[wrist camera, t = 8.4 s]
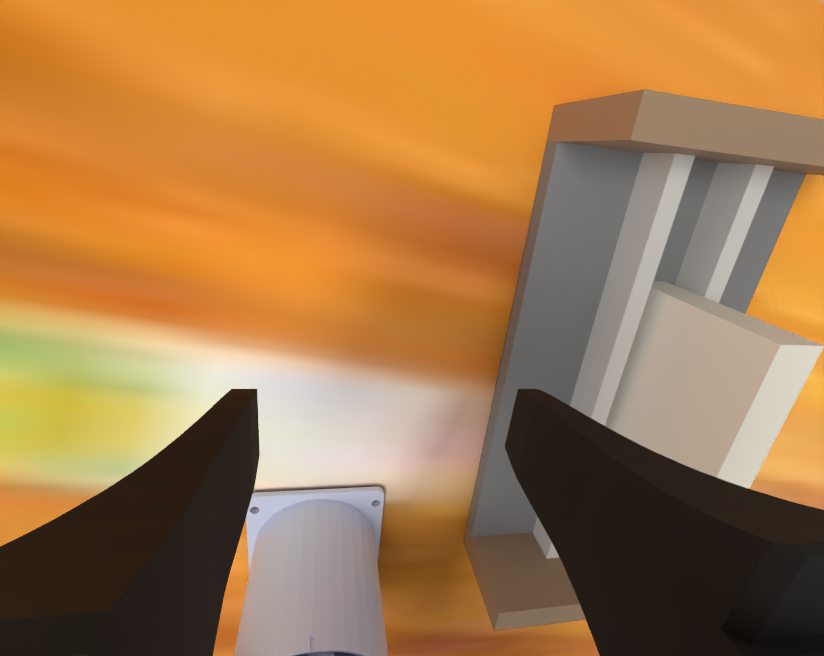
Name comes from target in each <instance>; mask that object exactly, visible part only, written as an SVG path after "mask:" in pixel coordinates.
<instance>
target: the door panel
mask: <svg viewBox="0 0 824 656" xmlns="http://www.w3.org/2000/svg"><path fill="white" fill-rule="evenodd" d="M823 348H824V346H823V345H821V344H818V343H816V342H813V341H811V340H808V339H806V338H803V337H801V336H799V335H796V334H794V333H791V332H789V331H786V330H784V329H781V328H779V327H776V326H774V325H771V324H769V323H766V322H764V321H761V320H759V319H757V318H754V317H752V316H749V315H747V314H744V313H742V312H739V311H737V310H734V309H732V308H729V307H727V306H724V305H722V304H719V303H717V302H715V301H712V300H710V299H707V298H705V297H702V296H700V295H697V294H695V293H692V292H690V291H687V290H685V289H682V288H680V287H678V286H675V285H673V284H670V283H668V282H659V281H653V284H652V287H651V289H650V292H649V295H648V298H647V301H646V304H645V307H644V310H643V313H642V316H641V319H640V322H639V325H638V328H637V331H636V334H635V337H634V340H633V343H632V346H631V349H630V352H629V355H628V358H627V361H626V364H625V367H624V370H623V373H622V376H621V379H620V382H619V385H618V388H617V391H616V394H615V397H614V400H613V403H612V406H611V409H610V412H609V415H608V418H607V421H606V424H605V426H606V427H608V428H609V429H611V430H613V431H615V432H617V433H618V434H620V435H622V436H624V437H626V438H628V439H630V440H632V441H634V442H636V443H638V444H640V445H642V446H644V447H646V448H648V449H650V450H652V451H654V452H656V453H658V454H661V455H663V456H665V457H667V458H670V459H672V460H674V461H676V462H679V463H681V464H683V465H686V466H688V467H691V468H693V469H695V470H698V471H700V472H703V473H706V474H709V475H711V476H714V477H717V478H719V479H722V480H725V481H727V482H730V483H733V484H736V485H739V486H742V487H745V488H748V489H749V488H750V486H751V484H752V482H753V480H754V478H755V477H756V475H757V473H758V471H759V469H760V467H761V465H762V463H763V461H764V460H765V458H766V456H767V454H768V452H769V450H770V448H771V446H772V444H773V442H774V441H775V439H776V437H777V435H778V433H779V431H780V429H781V427H782V425H783V423H784V422H785V420H786V418H787V416H788V414H789V412H790V410H791V408H792V406H793V405H794V403H795V401H796V399H797V397H798V395H799V393H800V391H801V389H802V387H803V386H804V384H805V382H806V380H807V378H808V376H809V374H810V372H811V370H812V369H813V367H814V365H815V363H816V361H817V359H818V357H819V355H820V353H821V351H822V350H823Z"/></svg>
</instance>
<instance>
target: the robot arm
mask: <svg viewBox="0 0 824 656" xmlns="http://www.w3.org/2000/svg"><path fill="white" fill-rule="evenodd" d="M505 449H506V452H507V455H508V457H509V460H510V463H511V466H512V468H513V471H514V473H515V476H516V478H517V480H518V482H519V484H520V486H521V487H522V489H523V491H524V493H525V495H526V497H527V498H528V500H529V502H530V504H531V506H532V508H533V509H534V511H535V513H536V515H537V517H538V518H539V520H540V522H541V524H542V526H543V527H544V529H545V531H546V533H547V535H548V536H549V538H550V540H551V542H552V544H553V545H554V547H555V549H556V551H557V553H558V555H559V557H560V559H561V561H562V563H563V566H564V568H565V570H566V573H567V575H568V577H569V580H570V582H571V584H572V587H573V589H574V591H575V593H576V596H577V598H578V601H579V603H580V606H581V608H582V611H583V613H584V616H585V618H586V621H587V623H588V626H589V628H590V631H591V633H592V636H593V638H594V641H595V644H596V646H597V649H598V652H599V655H600V656H824V510H821V509H817V508H813V507H809V506H805V505H801V504H797V503H794V502H790V501H787V500H783V499H780V498H777V497H773V496H770V495H767V494H764V493H760V492H757V491H754V490H751V489H748V488H745V487H742V486H739V485H736V484H733V483H730V482H727V481H725V480H722V479H719V478H717V477H714V476H711V475H709V474H706V473H703V472H700V471H698V470H695V469H693V468H691V467H688V466H686V465H683V464H681V463H679V462H676V461H674V460H672V459H670V458H667V457H665V456H663V455H661V454H658V453H656V452H654V451H652V450H650V449H648V448H646V447H644V446H642V445H640V444H638V443H636V442H634V441H632V440H630V439H628V438H626V437H624V436H622V435H620V434H618V433H617V432H615V431H613V430H611V429H609V428H608V427H606V426H604V425H602V424H600V423H599V422H597V421H595V420H593V419H592V418H590V417H588V416H586V415H585V414H583V413H581V412H580V411H578V410H576V409H574V408H573V407H571V406H569V405H568V404H566V403H564V402H562V401H561V400H559V399H557V398H555V397H553V396H551V395H550V394H548V393H546V392H544V391H541V390H539V389H518V391H517V395H516V399H515V404H514V408H513V412H512V416H511V421H510V425H509V429H508V434H507V438H506V442H505ZM258 460H259V430H258V404H257V389H231V390H230V391H229V392H228V393H227V394H226V395H224V396H223V397H222V398H221V399H220V400H219V401H218V402H217V403H216V404H215V405H214V406H213V407H212V408H211V409H209V410H208V411H207V412H206V413H205V414H204V415H203V416H202V417H201V418H200V419H199V420H198V421H196V422H195V423H194V424H193V425H192V426H191V427H190V428H188V429H187V430H186V431H185V432H184V433H183V434H182V435H181V436H179V437H178V438H177V439H176V440H174V441H173V442H172V443H171V444H169V445H168V446H167V447H166V448H164V449H163V450H162V451H161V452H159V453H158V454H157V455H156V456H154V457H153V458H152V459H150V460H149V461H148V462H146V463H145V464H144V465H142V466H141V467H139V468H138V469H136V470H135V471H134V472H132V473H131V474H129V475H128V476H126V477H125V478H123V479H121V480H120V481H118V482H117V483H115V484H114V485H112V486H111V487H109V488H108V489H106V490H104V491H103V492H101V493H99V494H98V495H96V496H94V497H92V498H91V499H89V500H87V501H86V502H84V503H82V504H80V505H79V506H77V507H75V508H73V509H72V510H70V511H68V512H66V513H65V514H63V515H61V516H60V517H58V518H56V519H54V520H52V521H50V522H49V523H47V524H45V525H43V526H41V527H39V528H37V529H35V530H33V531H31V532H29V533H27V534H25V535H23V536H21V537H19V538H17V539H15V540H13V541H11V542H9V543H7V544H5V545H3V546H1V547H0V656H213V650H214V645H215V639H216V634H217V629H218V624H219V618H220V613H221V608H222V603H223V598H224V593H225V589H226V585H227V581H228V577H229V573H230V570H231V566H232V563H233V559H234V556H235V553H236V549H237V546H238V542H239V539H240V536H241V532H242V529H243V525H244V522H245V518H246V526H247V544H248V561H249V577H248V583H247V588H246V593H245V599H244V604H243V609H242V615H241V620H240V625H239V631H238V636H237V642H236V647H235V652H234V656H388V651H387V643H386V634H385V625H384V617H383V608H382V600H381V591H380V582H379V574H378V565H377V563H378V554H379V544H380V535H381V525H382V516H383V507H384V497H385V496H384V490H383V489H382V488H381V487H358V488H337V489H317V490H296V491H276V492H256V493H253V490H254V485H255V479H256V473H257V466H258ZM375 500H378V501H377V502H373V501H375ZM252 507H257V508H256V509H255V508H252Z"/></svg>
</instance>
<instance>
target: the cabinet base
mask: <svg viewBox="0 0 824 656" xmlns="http://www.w3.org/2000/svg"><path fill="white" fill-rule="evenodd" d="M806 174H813V175H824V120H823V119H817V118H812V117H806V116H800V115H794V114H788V113H782V112H776V111H770V110H764V109H758V108H752V107H746V106H740V105H734V104H728V103H722V102H716V101H710V100H704V99H698V98H692V97H686V96H680V95H674V94H668V93H662V92H656V91H650V90H639V91H633V92H628V93H622V94H616V95H611V96H605V97H600V98H594V99H588V100H583V101H577V102H571V103H566V104H560V105H555V106H554V111H553V115H552V120H551V125H550V130H549V135H548V139H547V144H546V149H545V154H544V159H543V163H542V168H541V173H540V178H539V182H538V187H537V192H536V197H535V202H534V206H533V211H532V216H531V221H530V225H529V230H528V235H527V240H526V245H525V249H524V254H523V259H522V264H521V269H520V273H519V278H518V283H517V288H516V292H515V297H514V302H513V307H512V312H511V316H510V321H509V326H508V331H507V335H506V340H505V345H504V350H503V355H502V359H501V364H500V369H499V374H498V379H497V383H496V388H495V393H494V398H493V402H492V407H491V412H490V417H489V422H488V426H487V431H486V436H485V441H484V445H483V450H482V455H481V460H480V465H479V469H478V474H477V479H476V484H475V489H474V493H473V498H472V503H471V508H470V512H469V517H468V522H467V527H466V532H465V536H464V544H465V547H466V550H467V553H468V556H469V559H470V562H471V564H472V567H473V570H474V573H475V576H476V579H477V582H478V585H479V588H480V591H481V594H482V597H483V600H484V603H485V606H486V609H487V612H488V614H489V617H490V620H491V623H492V626H493V629H494V631H498V630H506V629H514V628H522V627H530V626H538V625H546V624H553V623H561V622H569V621H577V620H585V619H586V618H585V616H584V613H583V611H582V608H581V606H580V603H579V601H578V598H577V596H576V593H575V591H574V589H573V587H572V584H571V582H570V580H569V577H568V575H567V573H566V570H565V568H564V566H563V563H562V561H561V559H560V557H559V555H558V553H557V551H556V549H555V547H554V545H553V544H552V542H551V540H550V538H549V536H548V535H547V533H546V531H545V529H544V527H543V526H542V524H541V522H540V520H539V518H538V517H537V515H536V513H535V511H534V509H533V508H532V506H531V504H530V502H529V500H528V498H527V497H526V495H525V493H524V491H523V489H522V487H521V486H520V484H519V482H518V480H517V478H516V476H515V473H514V471H513V468H512V466H511V463H510V460H509V457H508V455H507V452H506V449H505V442H506V438H507V434H508V429H509V425H510V421H511V416H512V412H513V408H514V404H515V399H516V395H517V391H518V389H539V390H541V391H544V392H546V393H548V394H550V395H551V396H553V397H555V398H557V399H559V400H561V401H562V402H564V403H566V404H568V405H569V406H571V407H573V408H574V409H576V410H578V411H580V412H581V413H583V414H585V415H586V416H588V417H590V418H592V419H593V420H595V421H597V422H599V423H600V424H602V425H604V426H605V424H606V421H607V418H608V415H609V412H610V409H611V406H612V403H613V400H614V397H615V394H616V391H617V388H618V385H619V382H620V379H621V376H622V373H623V370H624V367H625V364H626V361H627V358H628V355H629V352H630V349H631V346H632V343H633V340H634V337H635V334H636V331H637V328H638V325H639V322H640V319H641V316H642V313H643V310H644V307H645V304H646V301H647V298H648V295H649V292H650V289H651V287H652V284H653V281H659V282H668V283H670V284H673V285H675V286H678V287H680V288H682V289H685V290H687V291H690V292H692V293H695V294H697V295H700V296H702V297H705V298H707V299H710V300H712V301H715V302H717V303H719V304H722V305H724V306H727V307H729V308H732V309H734V310H737V311H739V312H742V313H744V314H745V313H746V310H747V308H748V306H749V304H750V301H751V299H752V297H753V294H754V292H755V290H756V287H757V285H758V283H759V281H760V278H761V276H762V274H763V271H764V269H765V267H766V264H767V262H768V260H769V258H770V255H771V253H772V251H773V248H774V246H775V244H776V241H777V239H778V237H779V235H780V232H781V230H782V228H783V225H784V223H785V221H786V218H787V216H788V214H789V211H790V209H791V207H792V205H793V202H794V200H795V198H796V195H797V193H798V191H799V188H800V186H801V184H802V182H803V179H804V177H805V175H806Z"/></svg>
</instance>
